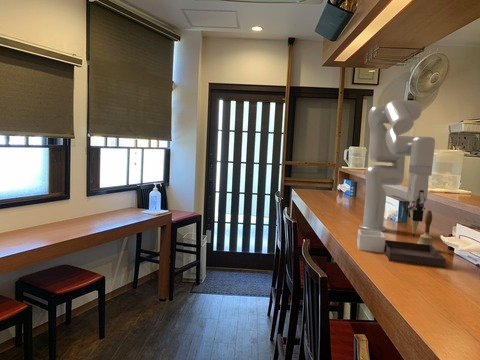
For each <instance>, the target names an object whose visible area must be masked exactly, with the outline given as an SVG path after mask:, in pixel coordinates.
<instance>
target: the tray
mask: <svg viewBox="0 0 480 360" xmlns="http://www.w3.org/2000/svg"><path fill="white" fill-rule="evenodd" d="M433 246H434V245H433ZM433 246H432V245H427V244H418V242H416V243H415V242H407V241H400V240H397V241H396V240H391V239H385V248H384V254H385V256H386V257H387V260H388V261H389V262H396V263H403V264H411V265H418V266H419V265H420V266H426V267H435V268H442V269H445V268H446V264H447V259H446V258H445V257H444V256H443V255H442V254H441V253H440V252H439V251H438V250H437V248H435V246H434V247H433Z"/></svg>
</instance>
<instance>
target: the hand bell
mask: <svg viewBox="0 0 480 360" xmlns="http://www.w3.org/2000/svg"><path fill="white" fill-rule="evenodd" d="M432 222H433V214H432V210H429V209H428V210H427V212H426V214H425V217H424V225H425V228H424V231H423V232H424V233H421V234H420V235H419V238H418V241H417V243H418V244H427V245H432V246H433V247H434V248H435V246H434V241H433V239H434V238H433V236H431V234H430V229H431V228H430V227H431V224H432Z"/></svg>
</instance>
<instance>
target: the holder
mask: <svg viewBox="0 0 480 360" xmlns="http://www.w3.org/2000/svg"><path fill="white" fill-rule="evenodd" d="M385 240H386V236H385V235H384V232H383V231H381V232H379V231H369V230H365V229H361V228H360V229H357V240H356V244H357V249H358V251H365V252H372V253H373V252H374V253H380V254H381V253H383V254H385V252H384V248H385Z"/></svg>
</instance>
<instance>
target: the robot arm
mask: <svg viewBox="0 0 480 360" xmlns="http://www.w3.org/2000/svg"><path fill="white" fill-rule="evenodd" d="M421 114H422V106H421V104H420V103H419V102H418V101H417V100H409V99H407V100H406V99H405V100H403V99H393V100H391V101H388V102H387V103H386V104H378V105H373V106H372V107H371V108H370V109H369V112H368V117H367V121H368V125H369V127H368V128H369V131H370V140H369V141H370V143H369V158H370V160H371V161H372V162H376V163H387V164H391V165H387V164H371V165H369V166H367V168H366V169H365V172H364V173H365V193H364V194H365V196H364V197H365V199H364V208H363V218H362V223H360V224H359V225H358V227H359V228H360V229H361V230H369V231H379V232H386V231H387V227H386V226H385V225H384V220H385V212H386V203H387V192H386V191H385V189H384V187H383V186H400V185H402V183H403V181H404V178H405V168H406V167H405V166H406V165H405V164H406V157H409V166H408V175H410V176H409V180H408V186H407V191H406V192H407V193H406V199H407V200H409V201H410V202H411V201H412V202H414V201H415V210H413V219H412V220H413V221H419V223H420V222H423V219H424V218H423V217H424V211H425V210H424V208H425V206H424V205H425V203H426V202H427V201H428V200H427V199H428V194H429V193H428V192H429V178H430V177H431V176H432V175H433V166H434V165H433V164H434V156H435V146H436V139H435V138H434V137H432V136H410V135H409V136H408V135H404V134H406V133H408V132H410V131H411V130H412V128H413V127H414V125H415V123H414V122H415V121H417V120H419V118H420V117H421ZM385 124H390V125H389V127H388V128H387V126H386V125H385ZM419 201H420V202H419ZM410 202H409V203H410ZM423 210H424V211H423ZM408 218H410V219H411V215H410V209H409V208H408Z"/></svg>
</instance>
